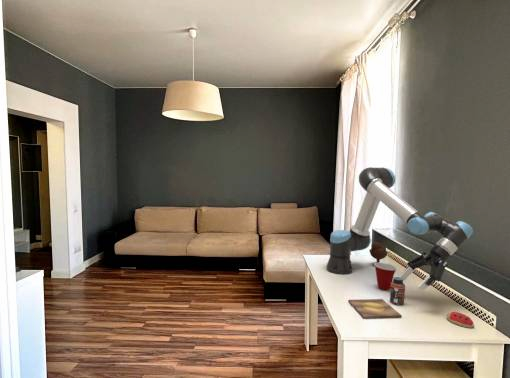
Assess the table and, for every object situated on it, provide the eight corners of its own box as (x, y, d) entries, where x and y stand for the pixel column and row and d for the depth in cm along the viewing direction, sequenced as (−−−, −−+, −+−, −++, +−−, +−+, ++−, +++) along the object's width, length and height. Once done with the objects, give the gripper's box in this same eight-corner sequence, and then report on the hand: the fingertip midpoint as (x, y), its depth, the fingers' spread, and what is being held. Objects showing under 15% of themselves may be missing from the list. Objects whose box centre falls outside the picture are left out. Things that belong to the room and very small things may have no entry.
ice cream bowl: (385, 269, 187) (386, 245, 186) (366, 266, 192) (367, 242, 192) (388, 264, 196) (389, 241, 195) (370, 261, 201) (371, 239, 201)
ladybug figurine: (451, 316, 127) (451, 307, 127) (478, 326, 119) (478, 317, 118) (442, 320, 124) (442, 311, 123) (469, 331, 115) (470, 322, 115)
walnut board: (348, 301, 139) (348, 299, 139) (382, 301, 140) (382, 298, 140) (363, 318, 123) (363, 316, 123) (401, 317, 124) (401, 315, 124)
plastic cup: (398, 293, 150) (399, 269, 149) (375, 291, 152) (376, 267, 151) (393, 285, 160) (394, 262, 160) (371, 283, 162) (372, 261, 162)
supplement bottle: (398, 306, 135) (399, 281, 134) (386, 301, 140) (387, 277, 139) (407, 304, 138) (408, 279, 137) (395, 299, 143) (396, 275, 142)
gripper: (470, 264, 126) (434, 300, 126) (430, 248, 151) (400, 279, 150) (458, 251, 125) (422, 288, 125) (420, 238, 150) (390, 269, 150)
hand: (410, 283), depth 138 cm, fingers open, 13 cm apart
